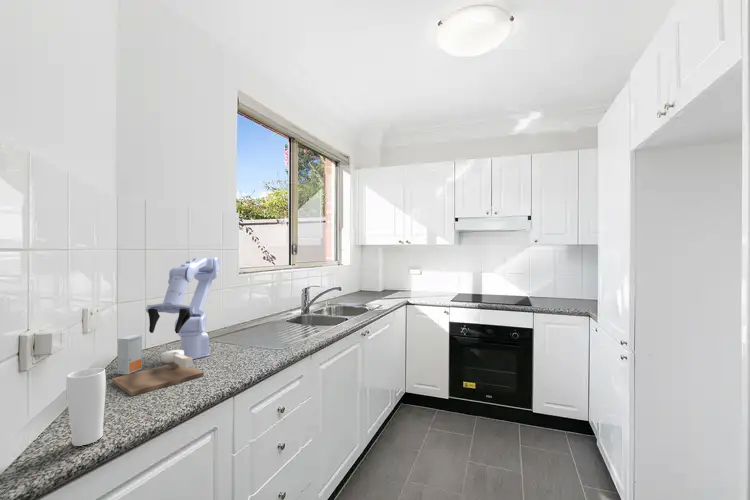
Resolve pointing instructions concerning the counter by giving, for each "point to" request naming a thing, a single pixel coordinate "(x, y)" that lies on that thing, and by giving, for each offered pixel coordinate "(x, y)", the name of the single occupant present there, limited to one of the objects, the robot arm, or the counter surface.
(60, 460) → the counter surface
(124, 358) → the skincare box
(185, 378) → the board
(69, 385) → the white tumbler
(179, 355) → the white long piece
